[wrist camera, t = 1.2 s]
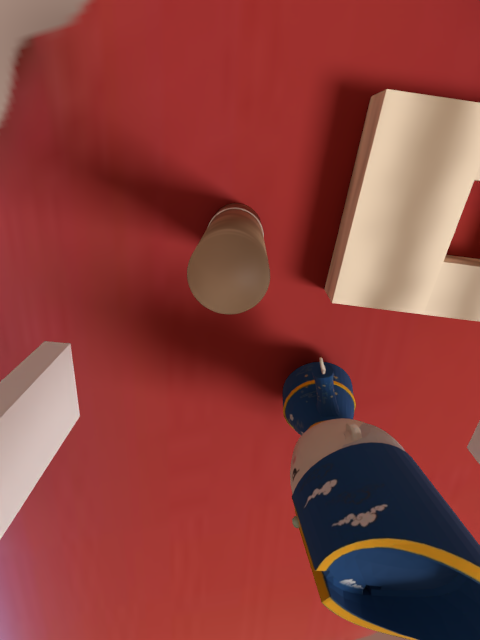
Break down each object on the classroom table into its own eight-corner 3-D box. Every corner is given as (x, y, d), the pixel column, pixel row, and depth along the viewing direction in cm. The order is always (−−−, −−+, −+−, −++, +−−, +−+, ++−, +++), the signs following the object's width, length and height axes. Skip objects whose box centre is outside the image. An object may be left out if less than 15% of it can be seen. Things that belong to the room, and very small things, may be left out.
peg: (208, 251, 29) (183, 309, 18) (212, 199, 27) (188, 228, 16) (258, 258, 29) (263, 319, 18) (265, 206, 27) (277, 239, 16)
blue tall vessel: (263, 326, 31) (283, 558, 13) (370, 306, 30) (552, 528, 12) (286, 435, 37) (324, 709, 19) (379, 421, 36) (514, 696, 17)
